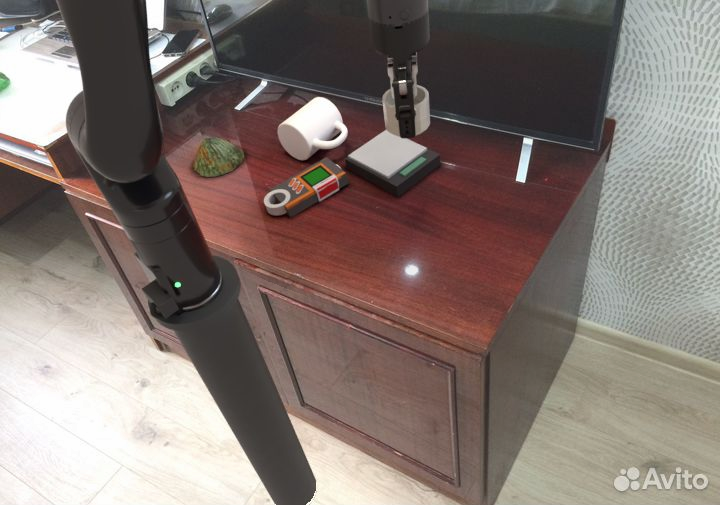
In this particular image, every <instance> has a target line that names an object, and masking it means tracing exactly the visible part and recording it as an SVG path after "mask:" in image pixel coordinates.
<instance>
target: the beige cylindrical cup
mask: <svg viewBox="0 0 720 505" xmlns="http://www.w3.org/2000/svg"><path fill="white" fill-rule="evenodd" d="M381 100H382V109H383V118H384V126H385V130H386V129H387V131H388V132H389V133H391V134H393V135H395V136H399V137H400V132H399V122H398V120H397V119H396V118H395V114H396V112H395V100H394V99H393V98H392V96H391V88H389V89H387V90H386V91H385V92H384V94H383V95H382V99H381ZM408 106H409V105H408ZM400 107H407V106H400ZM414 107H415V108H416V116H415V130H416V136H418V135H420V134H422V133H424V132H425V131H427V130H428V128H429V127H430V125H431V113H430V95H429V91H428V90H427V88H425V86H421V85H419V84H417V96H416V97H414Z"/></svg>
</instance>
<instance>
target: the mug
mask: <svg viewBox="0 0 720 505" xmlns="http://www.w3.org/2000/svg"><path fill="white" fill-rule="evenodd" d="M340 132H341V133H340ZM339 133H340V135H339V136H337V135H338V134H339ZM348 134H349V131H348V128H347V126H346V124H344V122H343V118H342V115H341V112H340V110H339V109H338V108H337V106H336V105H335V104H334V102H332V101H331V100H330V99H328V98H326V97H322V96H316V97H314V98H313V99H311V100H310V101H309V102H307V103H306V104H305V105H304V106H302V107H301V108H299V109H298V110H297V111H296V112H294V113H293V114H292V115H290V116H289V117H288V118H286V119H285V120H284V121H283V122H281V123H280V124H279V125H278V127H277V138H278V141H279V142H280V144H281V146H282V148H283V149H284V150H285V151H286V152H287V154H289V155H290V156H291V157H292V158H294V159H296V160H299V161H307V160H308V159H310V158H311V157H312V156H313V155H314V154H316V153H317V152H318V151H319V150H331V149H335V148H337V147H339V146H341V145H342V144H343V143H344V142H345V140H346V139H347V137H348ZM336 136H337V137H336ZM335 137H336V138H335ZM333 138H334V139H333ZM332 139H333V140H332Z"/></svg>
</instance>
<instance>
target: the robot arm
mask: <svg viewBox="0 0 720 505" xmlns="http://www.w3.org/2000/svg"><path fill="white" fill-rule="evenodd" d="M365 1H366V8H367V17H368V18H367V19H368V25H369V26H368V27H369V34H370V42H371V47H372V49H373V50H374V51H375V52H376V53H378V54H380V55H382V56H386V57H387V64H386V65H387V66H386V67H387V68H386V70H387V76H388V78H389V82H390V89H391V96H392V98H393V99H394V100H395V112H396V114H395V118H396V119H397V120H398V122H399V132H400V137H401V138H403V139H404V138H407V139H414V138H415V137H416V136H417V135H416V130H415V116H416V108H415V107H414V97H416V96H417V85H418V84H417V83H418V82H417V81H418V80H417V75H418V72H419V69H418V67H419V66H418V52H420V51H422V50H423V49H425V48H426V47H427V45H428V44H429V43H430V39H431V34H430V32H431V31H430V14H429V13H430V12H429V11H430V10H429V0H365ZM55 2H56V4H57V7H58V10H59V13H60V15H61V18H62V21H63V23H64V25H65V29H66V31H67V34H68V36H69V39H70V42H71V44H72V47H73V49H74V53H75V55H76V60H77V63H78V68H79V71H80V77H81V78H80V79H81V84H82V90H81V91H79V93H77V94H76V95H75V96H74V98H72V100H71V101H70V103H69V105H68V108H67V110H66V115H65V129H66V132H67V135H68V138H69V140H70V142H71V144H72V146H73V147H74V150H75V151H76V153H77V155H78V156H79V158H80V160H81V161H82V163H83V165H84V166H85V169H86V170H87V171H88V173H89V174H90V176H91V178H92V180H93V182H94V183H95V186H96V187H97V189H98V190H99V192H100V194H101V195H102V196H103V198H104V201H106V203H107V205H108V206H109V208H110V209H111V211H112V212H113V214H114V216H115V218H116V219H117V220H118V222H119V224H120V226H121V228H122V230H123V231H124V234H125V235H126V237H127V238H128V240H129V242H130V243H131V245H132V247H133V249H134V250H135V252H134V253H133V255H134V257H135V260H137V262H138V264H139V266H140V268H141V270H142V271H143V273H144V275H145V276H146V278H147V280H148V282H149V283H148V284H146V285H145V286H143V287H141V291H142V293H143V294H144V295H145V298H146V299H147V302H148V301H149V302H150V303H151V306H150V309H149V313H150V314H149V315H150V316H151V317H152V318H154V319H155V318H156V319H168V317H169V316H170V315H172V314H173V313H175V314H176V315H177V316H179V315H181V314H182V313H184V312H188V311H193V310H197V309H200V308H202V307H204V306H206V305H207V304H209V303H210V302H211V301H213V300H214V299H215V298H216V297H217V295H218V294H219V293H220V291H221V289H222V286H223V277H222V274H221V272H220V270H219V268H218V266H217V264H216V263H215V260H214V258H213V256H212V255H213V254H212V251H211V248H210V247H209V245H208V242H207V240H206V238H205V235H204V233H203V231H202V229H201V227H200V224H199V221H198V220H197V218H196V215H195V213H194V210H193V208H192V206H191V203H190V201H189V199H188V197H187V194H186V192H185V189H184V188H183V186H182V183H181V181H180V179H179V177H178V175H177V173H176V172H175V170H174V169H173V167H172V166H171V165H170V163H169V162H168V159H167V158H166V156H165V154H164V153H163V152H164V148H165V147H164V146H165V134H164V133H165V132H164V127H163V123H162V117H161V113H160V109H159V104H158V98H157V93H156V89H155V88H156V87H155V83H154V78H153V72H152V65H151V64H152V63H151V57H150V41H149V21H148V8H147V0H55ZM408 105H409V106H408ZM400 106H407V107H400ZM156 309H157V310H158V311H159V312H160V313H157V312H156ZM156 319H155V320H156Z"/></svg>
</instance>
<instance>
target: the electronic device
mask: <svg viewBox="0 0 720 505" xmlns="http://www.w3.org/2000/svg"><path fill="white" fill-rule="evenodd" d="M349 183H350V181H349V177H348V174H347V172H346V171H345V170H343V169H342V168H341V166H340V165H338V164H336V163H335V162H333V161H332V160H331V159H330V158H329V157H328V156H325V157H324V158H323V159H321V160H319V161H317V162H315V163H313V164H311V165H310V166H308V167H307V168H305V169H303V170H301V171H300V172H297V173H296V174H294V175H293V176H291V177H289V178H287V179H286V180H284V181H282V182H280V183H279V184H277V185H275V186H273V187H272V188H270V189H268V191H269V192H268V193H267V194H266V195H265V196H264V198H263V204H264V206H265V208H266V212H267V213H268V214H269V215H271V216H283V215H285V214H286V215H288V217H289V218H293V217H294V216H296V215H298V214H299V213H301V212H303V211H305V210H307V209H308V208H309V207H311V206H313V205H314V204H317V203H318V202H319V203H320V202H322V201H324V200H325V199H327V198H329V197H331V196H332V195H333V194H335V193H337V192H339V191H340V189H341V188H343V187H345V186H346V185H348V184H349Z"/></svg>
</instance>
